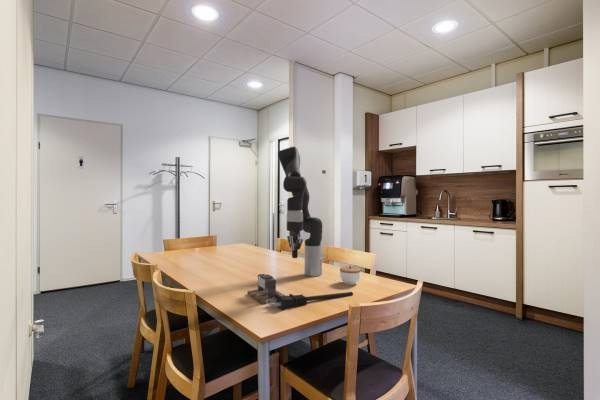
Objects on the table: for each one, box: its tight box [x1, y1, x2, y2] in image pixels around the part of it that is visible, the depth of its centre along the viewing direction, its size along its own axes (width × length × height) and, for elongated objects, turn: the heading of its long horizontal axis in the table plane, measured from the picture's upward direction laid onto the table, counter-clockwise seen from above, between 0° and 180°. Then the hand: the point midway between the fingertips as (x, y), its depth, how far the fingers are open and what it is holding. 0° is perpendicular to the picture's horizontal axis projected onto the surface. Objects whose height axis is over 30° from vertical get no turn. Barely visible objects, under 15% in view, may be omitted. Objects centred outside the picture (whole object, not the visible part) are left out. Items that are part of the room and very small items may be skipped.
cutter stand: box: [247, 273, 286, 305], centre depth 144 cm, size 16×12×9 cm
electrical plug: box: [265, 291, 354, 311], centre depth 139 cm, size 9×42×5 cm, turn 116°
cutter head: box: [257, 273, 276, 294], centre depth 144 cm, size 7×5×8 cm
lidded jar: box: [339, 265, 362, 286], centre depth 167 cm, size 11×11×9 cm
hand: (294, 257), depth 146 cm, fingers closed
